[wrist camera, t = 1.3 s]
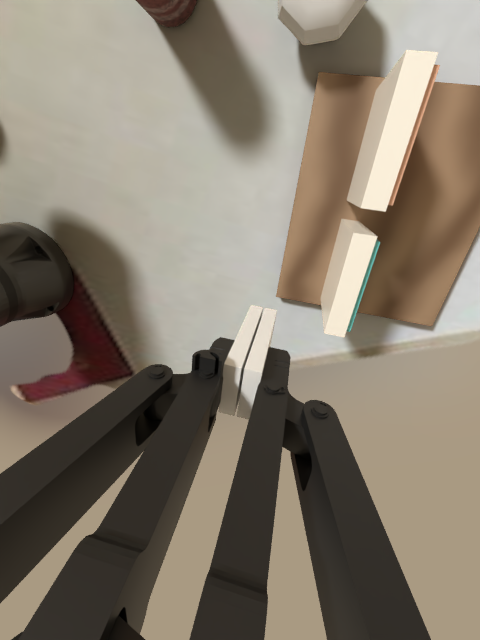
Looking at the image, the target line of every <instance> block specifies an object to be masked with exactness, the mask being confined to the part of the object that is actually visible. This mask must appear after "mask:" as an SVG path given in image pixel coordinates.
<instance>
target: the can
mask: <svg viewBox="0 0 480 640" xmlns="http://www.w3.org/2000/svg"><path fill="white" fill-rule="evenodd" d="M136 1H137V2H138V3H139V4H140V5H141V6H142V7H143V8H144V9H145V10H146V12H147V13H148V14H149V15H150V16H151V17H152V18H153V19H155V20H156V21H157V22H158V23H159V24H161V25H164V26H166V27H176V26H178V25H180V24H182V23H184V22H185V21H186V20H187V19H188V17H189V16H190V15H191V14H192V12H193V9H194V7H195V5H196V3H197V0H136Z"/></svg>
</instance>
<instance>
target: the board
mask: <svg viewBox="0 0 480 640" xmlns="http://www.w3.org/2000/svg"><path fill="white" fill-rule="evenodd" d="M384 79H385V78H383V77H371V76H359V75H348V74H336V73H324V72H319V74H318V79H317V84H316V90H315V95H314V100H313V105H312V111H311V116H310V121H309V126H308V132H307V137H306V142H305V147H304V153H303V158H302V163H301V168H300V174H299V179H298V184H297V189H296V195H295V200H294V205H293V210H292V216H291V221H290V226H289V231H288V237H287V242H286V247H285V252H284V258H283V263H282V268H281V273H280V279H279V284H278V289H277V294H276V297H281V298H286V299H291V300H297V301H302V302H307V303H312V304H318V305H321V294H322V291H323V287H324V283H325V279H326V276H327V272H328V268H329V264H330V261H331V257H332V253H333V249H334V246H335V242H336V238H337V234H338V231H339V227H340V223H341V219H347V220H353V221H359V222H361V223H362V224H363V225H364V226H365V227H367V228H368V229H369V230H370V231H371V232H373V233H374V234H375V235H376V236H378V237H377V240H378V241H379V242H380V245H379V248H378V251H377V254H376V257H375V260H374V263H373V265H372V268H371V271H370V274H369V277H368V280H367V283H366V286H365V289H364V292H363V295H362V298H361V301H360V304H359V307H358V310H357V312H360V313H365V314H370V315H375V316H381V317H386V318H391V319H396V320H402V321H407V322H412V323H417V324H423V325H428V326H432V325H433V323H434V321H435V319H436V317H437V315H438V313H439V311H440V309H441V306H442V304H443V302H444V300H445V298H446V296H447V294H448V292H449V290H450V288H451V286H452V284H453V281H454V279H455V277H456V275H457V273H458V271H459V269H460V267H461V265H462V263H463V261H464V259H465V256H466V254H467V252H468V250H469V248H470V246H471V244H472V242H473V240H474V238H475V236H476V234H477V231H478V229H479V227H480V86H477V85H465V84H453V83H441V82H434V84H433V87H432V90H431V93H430V96H429V99H428V102H427V105H426V108H425V111H424V114H423V117H422V120H421V123H420V126H419V129H418V132H417V135H416V138H415V141H414V144H413V147H412V150H411V153H410V156H409V159H408V162H407V165H406V168H405V170H404V173H403V176H402V179H401V182H400V185H399V188H398V191H397V194H396V197H395V200H394V203H393V206H392V205H388V206H387V209H386V212H384V211H377V210H371V209H364V208H360V207H358V206H356V205H354V204H352V203H351V202H349V201H347V197H348V193H349V189H350V186H351V182H352V178H353V174H354V171H355V167H356V163H357V159H358V156H359V152H360V148H361V144H362V141H363V137H364V133H365V129H366V126H367V122H368V118H369V114H370V111H371V107H372V103H373V99H374V96H375V92H376V89H377V88H378V87H379V85H380V84H381V83H382V82H383V80H384Z"/></svg>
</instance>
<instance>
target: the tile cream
mask: <svg viewBox="0 0 480 640" xmlns="http://www.w3.org/2000/svg"><path fill="white" fill-rule="evenodd" d="M437 54H438V52H428V51H414V50H406V51H405V53H404V54H403V55H402V57H401V58H400V59H399V60H398V62H397V63H396V64H395V66H394V67H393V68H392V70H391V71H390V72H389V74H388V75H387V76H386V78H385V79H384V80H383V82H382V83H381V84H380V85H379V87H378V88H377V89H376V92H375V96H374V99H373V103H372V107H371V111H370V114H369V118H368V122H367V126H366V129H365V133H364V137H363V141H362V144H361V148H360V152H359V156H358V159H357V163H356V167H355V171H354V174H353V178H352V182H351V186H350V189H349V193H348V197H347V201H349V202H351V203H352V204H354V205H356V206H358V207H360V208H364V209H371V210H377V211H384V212H386V209H387V206H388V205H392V206H393V203H394V200H395V197H396V194H397V191H398V188H399V185H400V182H401V179H402V176H403V173H404V170H405V168H406V165H407V162H408V159H409V156H410V153H411V150H412V147H413V144H414V141H415V138H416V135H417V132H418V129H419V126H420V123H421V120H422V117H423V114H424V111H425V108H426V105H427V102H428V99H429V96H430V93H431V90H432V87H433V84H434V81H435V78H436V75H437V73H438V70H439V67H440V65H434V63H435V60H436V57H437Z"/></svg>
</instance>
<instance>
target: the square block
mask: <svg viewBox="0 0 480 640" xmlns="http://www.w3.org/2000/svg"><path fill="white" fill-rule="evenodd" d="M377 237H378V236H376V235H375V234H374V233H373V232H371V231H370V230H369V229H368V228H367V227H365V226H364V225H363V224H362V223H361V222H359V221H353V220H347V219H341V223H340V227H339V231H338V234H337V238H336V242H335V246H334V249H333V253H332V257H331V261H330V264H329V268H328V272H327V276H326V279H325V283H324V287H323V291H322V294H321V307H322V317H323V327H324V333H325V334H330V335H335V336H340V337H345V334H346V331H349V332H350V331H351V328H352V325H353V322H354V319H355V316H356V313H357V310H358V307H359V304H360V301H361V298H362V295H363V292H364V289H365V286H366V283H367V280H368V277H369V274H370V271H371V268H372V265H373V263H374V260H375V257H376V254H377V251H378V248H379V245H380V242H379V241H378V240H377Z"/></svg>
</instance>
